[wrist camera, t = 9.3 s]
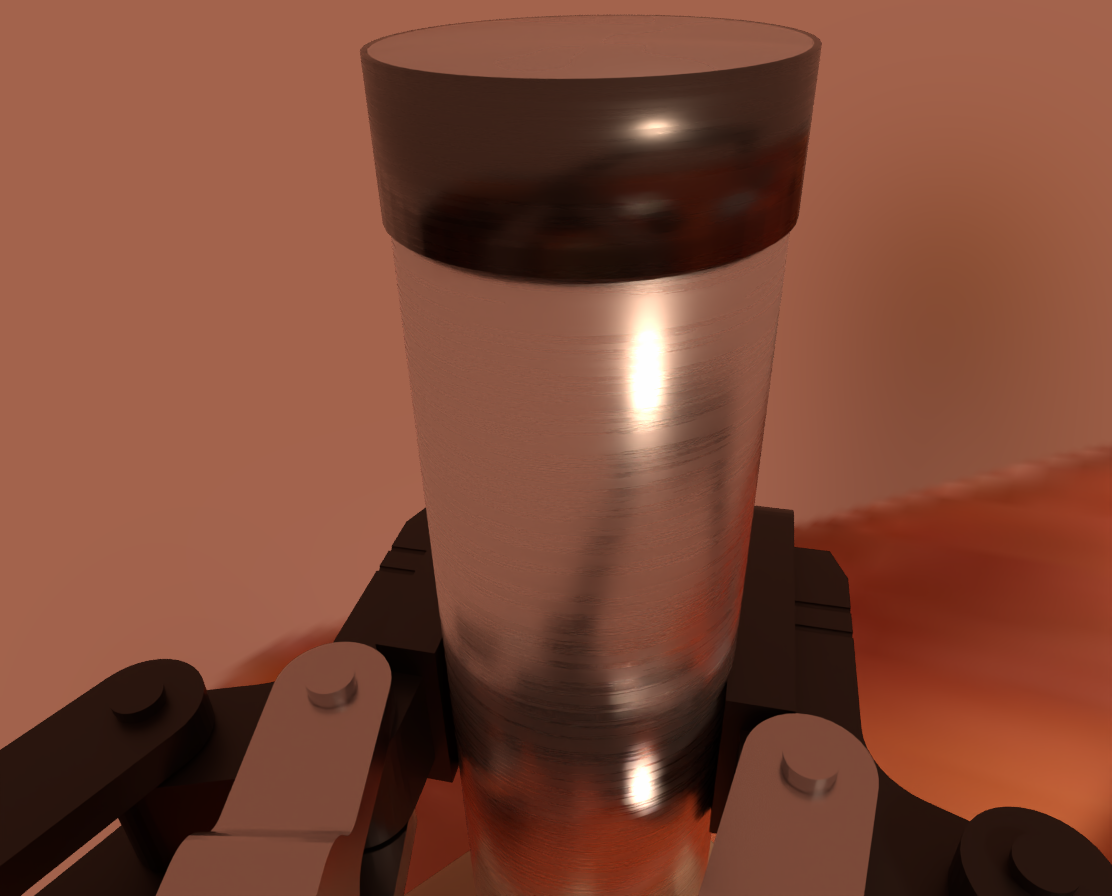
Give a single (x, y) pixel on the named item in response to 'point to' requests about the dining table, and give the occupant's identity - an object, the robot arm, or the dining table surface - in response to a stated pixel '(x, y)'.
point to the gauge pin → (590, 407)
